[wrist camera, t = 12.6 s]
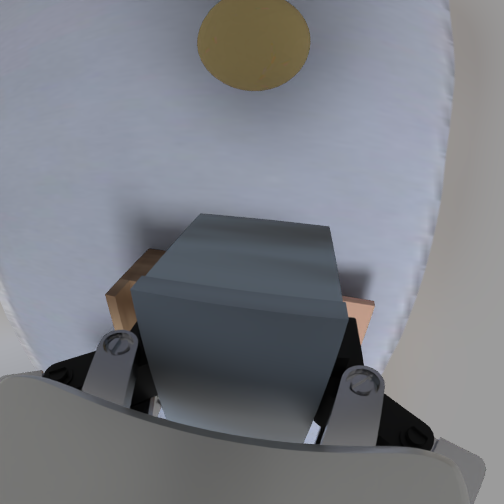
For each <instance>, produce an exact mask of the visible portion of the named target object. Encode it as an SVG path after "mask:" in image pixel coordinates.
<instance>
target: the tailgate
mask: <svg viewBox="0 0 504 504" xmlns="http://www.w3.org/2000/svg"><path fill="white" fill-rule="evenodd" d="M342 299H343V302H346V306H347V312H348V317H354V318H356V321H357V327H358V332H359V338H360V344H362V341H363V338H364V336H365V333H366V330H367V327H368V325H369V322H370V319H371V316H372V313H373V310H374V307H375V304H374V301H371V300H365V299H359V298H353V297H347V296H342Z"/></svg>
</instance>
